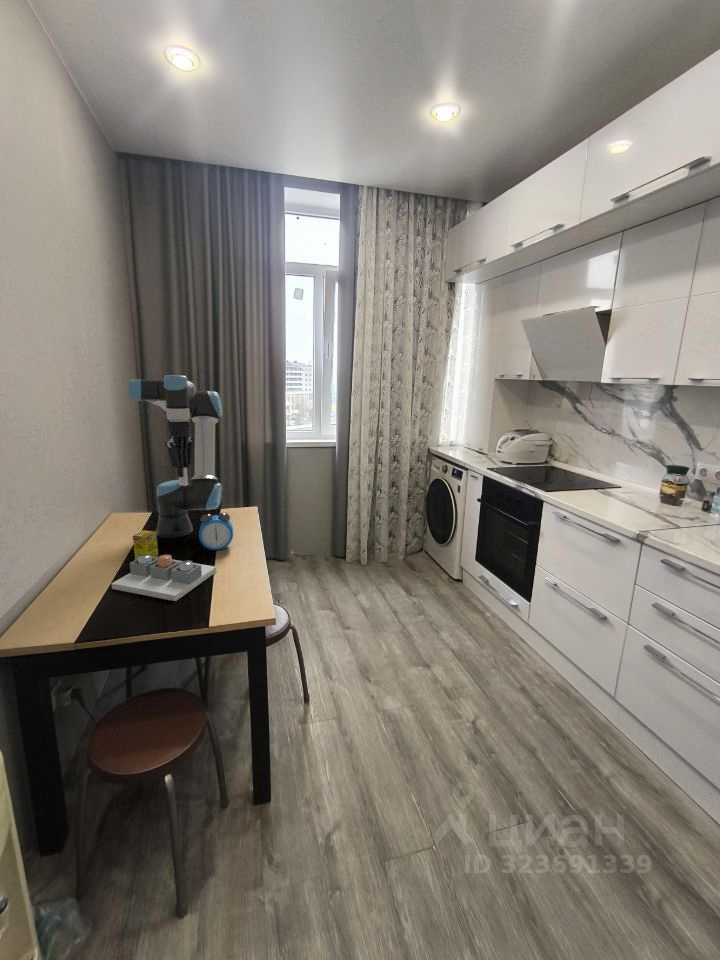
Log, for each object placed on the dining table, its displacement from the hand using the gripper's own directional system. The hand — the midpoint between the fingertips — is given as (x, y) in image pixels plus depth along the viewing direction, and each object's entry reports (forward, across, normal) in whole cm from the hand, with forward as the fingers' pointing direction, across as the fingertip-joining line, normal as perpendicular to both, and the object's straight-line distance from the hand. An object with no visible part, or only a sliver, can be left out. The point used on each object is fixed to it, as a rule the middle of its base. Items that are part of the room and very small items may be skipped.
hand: (183, 484), depth 159 cm
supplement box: (+31, +4, -16) cm, 35 cm away
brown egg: (+27, +15, +2) cm, 31 cm away
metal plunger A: (+28, +15, -7) cm, 32 cm away
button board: (+30, +15, +2) cm, 34 cm away
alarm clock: (+31, -15, +2) cm, 34 cm away
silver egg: (+28, +15, +11) cm, 33 cm away
